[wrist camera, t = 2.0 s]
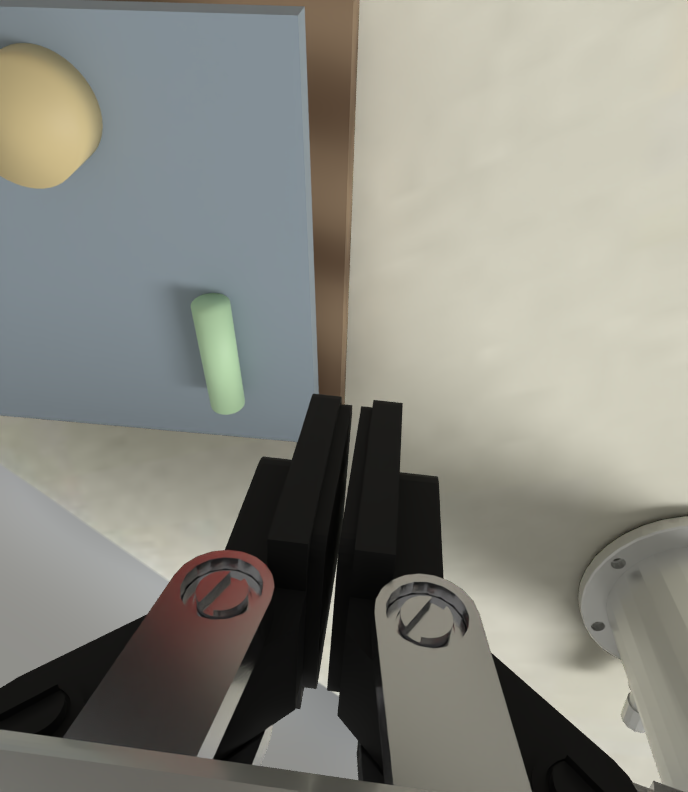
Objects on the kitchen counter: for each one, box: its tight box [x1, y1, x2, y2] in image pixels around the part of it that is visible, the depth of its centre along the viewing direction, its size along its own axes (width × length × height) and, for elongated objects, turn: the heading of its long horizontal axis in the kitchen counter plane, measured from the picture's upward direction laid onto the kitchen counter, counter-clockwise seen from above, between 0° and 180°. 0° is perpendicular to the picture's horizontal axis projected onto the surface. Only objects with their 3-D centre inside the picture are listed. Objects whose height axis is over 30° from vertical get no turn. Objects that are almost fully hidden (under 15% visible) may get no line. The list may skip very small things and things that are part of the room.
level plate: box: [0, 0, 319, 442], centre depth 26 cm, size 19×18×3 cm
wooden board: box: [99, 0, 359, 405], centre depth 31 cm, size 20×20×4 cm
